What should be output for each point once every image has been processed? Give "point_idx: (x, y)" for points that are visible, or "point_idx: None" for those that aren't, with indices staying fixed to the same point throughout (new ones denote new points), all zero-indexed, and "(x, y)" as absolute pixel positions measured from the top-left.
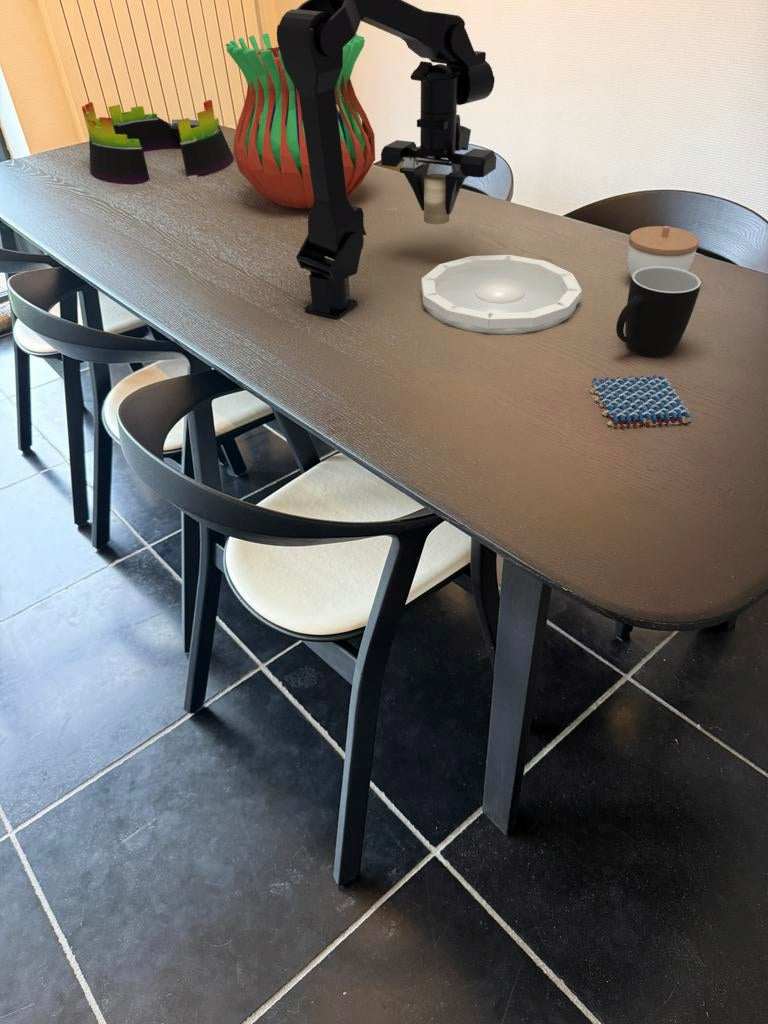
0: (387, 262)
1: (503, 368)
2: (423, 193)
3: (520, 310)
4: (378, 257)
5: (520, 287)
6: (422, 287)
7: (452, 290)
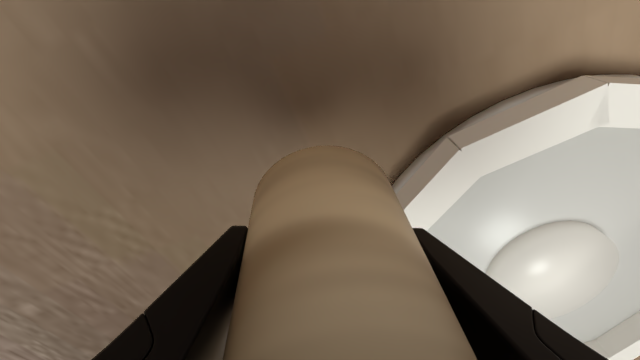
0: (156, 172)
1: None
2: (222, 343)
3: (587, 313)
4: (97, 146)
5: (608, 264)
6: None
7: None
